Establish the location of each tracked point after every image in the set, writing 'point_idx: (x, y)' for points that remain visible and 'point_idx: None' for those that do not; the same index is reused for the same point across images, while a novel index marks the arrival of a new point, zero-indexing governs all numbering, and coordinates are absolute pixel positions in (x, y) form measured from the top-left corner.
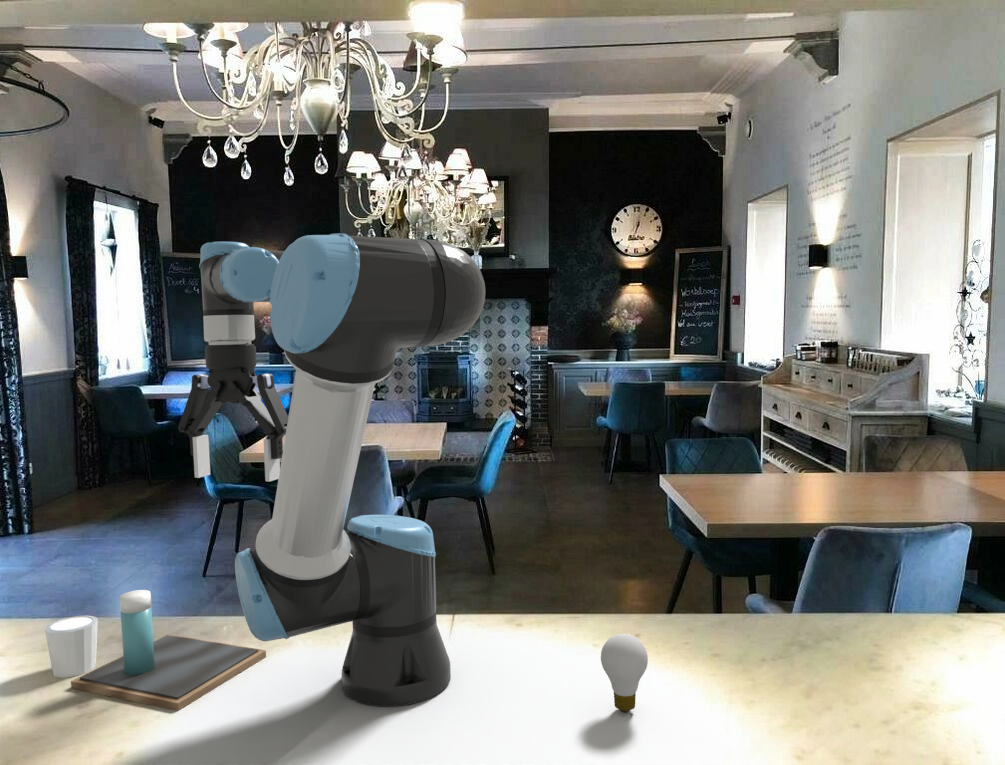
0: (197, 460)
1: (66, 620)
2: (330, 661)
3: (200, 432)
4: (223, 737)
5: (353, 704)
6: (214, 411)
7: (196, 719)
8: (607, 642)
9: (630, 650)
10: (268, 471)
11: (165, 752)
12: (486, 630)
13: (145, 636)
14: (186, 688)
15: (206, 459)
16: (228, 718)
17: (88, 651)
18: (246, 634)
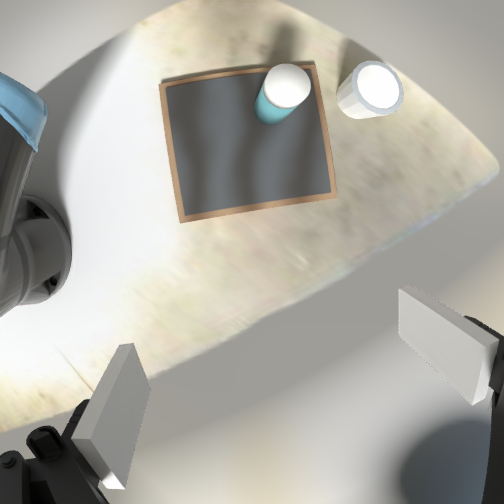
0: (429, 308)
1: (394, 93)
2: (108, 250)
3: (497, 386)
4: (83, 84)
5: (29, 192)
6: (489, 487)
7: (129, 86)
8: None
9: None
10: (111, 360)
11: (110, 44)
12: (50, 376)
13: (258, 97)
14: (174, 104)
15: (425, 346)
16: (103, 105)
17: (343, 94)
18: (260, 258)
